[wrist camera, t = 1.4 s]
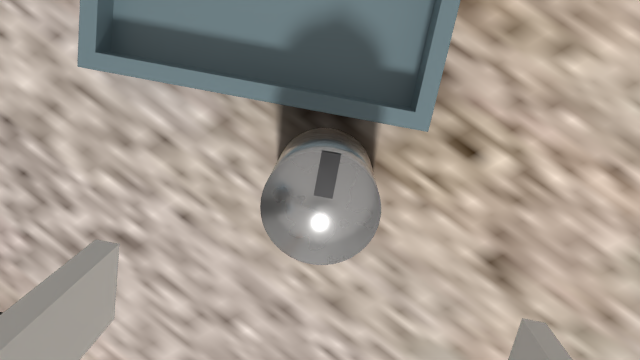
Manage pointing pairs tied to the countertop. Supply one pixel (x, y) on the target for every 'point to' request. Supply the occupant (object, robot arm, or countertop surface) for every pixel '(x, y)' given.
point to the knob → (321, 198)
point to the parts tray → (282, 51)
